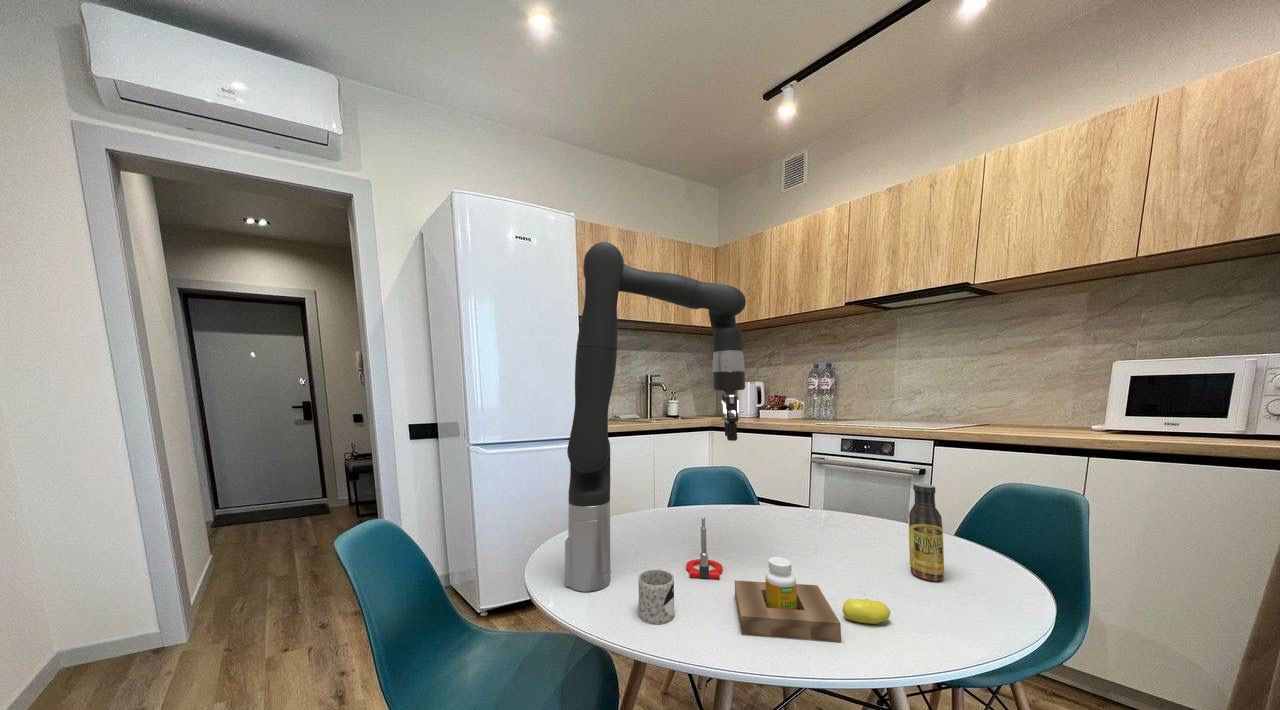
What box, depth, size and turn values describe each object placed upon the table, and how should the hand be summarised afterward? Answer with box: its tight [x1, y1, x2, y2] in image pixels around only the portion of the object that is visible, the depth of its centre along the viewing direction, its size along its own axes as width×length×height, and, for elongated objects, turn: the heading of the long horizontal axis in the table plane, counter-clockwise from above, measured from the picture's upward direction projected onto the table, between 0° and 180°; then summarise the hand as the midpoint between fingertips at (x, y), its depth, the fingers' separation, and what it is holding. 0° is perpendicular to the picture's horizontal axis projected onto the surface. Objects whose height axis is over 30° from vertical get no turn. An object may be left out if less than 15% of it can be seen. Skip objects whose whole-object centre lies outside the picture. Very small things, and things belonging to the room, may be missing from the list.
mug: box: [638, 569, 675, 626], centre depth 76 cm, size 10×7×7 cm
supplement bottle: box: [764, 556, 797, 610], centre depth 73 cm, size 5×5×10 cm
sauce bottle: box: [908, 482, 945, 582], centre depth 89 cm, size 6×6×20 cm
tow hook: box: [685, 516, 724, 580], centre depth 93 cm, size 8×13×9 cm
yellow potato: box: [842, 598, 891, 625], centre depth 71 cm, size 4×8×4 cm, turn 79°
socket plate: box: [734, 580, 842, 643], centre depth 73 cm, size 16×13×3 cm
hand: (730, 438), depth 95 cm, fingers open, 8 cm apart
